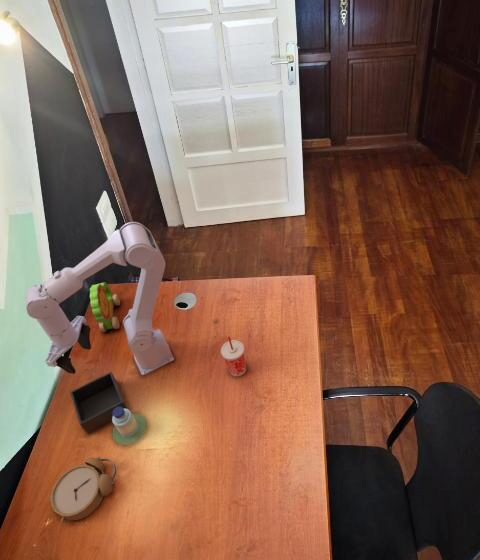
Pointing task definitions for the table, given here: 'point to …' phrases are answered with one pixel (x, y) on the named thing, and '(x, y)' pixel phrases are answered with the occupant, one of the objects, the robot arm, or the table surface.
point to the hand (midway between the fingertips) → (79, 360)
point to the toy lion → (104, 306)
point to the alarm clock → (81, 489)
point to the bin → (97, 402)
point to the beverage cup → (234, 357)
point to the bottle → (124, 422)
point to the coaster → (135, 437)
